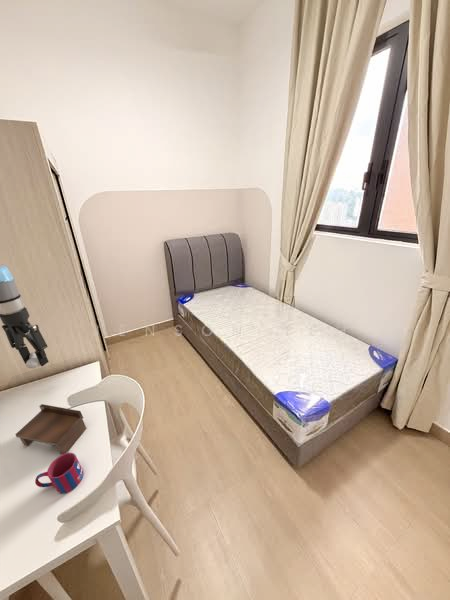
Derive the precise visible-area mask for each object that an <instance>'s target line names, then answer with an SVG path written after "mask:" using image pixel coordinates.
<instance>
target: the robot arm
mask: <svg viewBox="0 0 450 600" xmlns="http://www.w3.org/2000/svg"><path fill="white" fill-rule="evenodd" d="M29 318H30V314H29V311H28V309H27V307H26V304H25V303H24V300H23V298H22V295H21V293H20V291H19V289H18V286H17V283H16V281H15V278H14V276H13V275H12V273H11V271H10V270H9V268H8V266H7V267H6V266H4V265H0V321H1V322H2V324H3V325H1V328H2V329H3V331H4V333H5V335H6V338H7V340H8V342H9V346H10V347H11V349H15V350H17V351H18V353H19V355H20V357H21V359H22V360H23V363H24V364H25V365H26V362H27V361H28V360H29V359H30V358H29V356H30V354H31V352H30V350H29V347H28V346H27V345H26V343H25V340H24V339H26V340H27V342H28V343H29V344H30V345H31V347H32V348H33V349H34V351H35V352H34V351H33V352H34V353H35V354H36V356H37V358H38V361H39V363H40V367H44V366H45V365H46V364H48V363H50V362H49V359H48V357H47V353H46V351H45V349H47V348H48V344H47V343H46V340H45V339H44V337H43V334H42V333H41V331H40V328H39V325H38V324H34V325H33V324H31V322H30V321H29Z"/></svg>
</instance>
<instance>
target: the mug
mask: <svg viewBox="0 0 450 600" xmlns="http://www.w3.org/2000/svg"><path fill="white" fill-rule="evenodd" d="M42 477H43V478H44V477H48V479H49V480H50V482H41V481H39V479H40V478H42ZM83 477H84V469H83V467H82V465H81V463H80V461H79V459H78V457H77V455H76V454H75V453H74V452H67V453H65V454H63V455H62V454H60V455H59V456H57V457H56V458H55V459H54V460H53V461H52V462H51V463H50V464H49V466H48V468H47V471H44V472H40V473H39V474H37V475H36V477H35V480H34V483H35V485H36V486H37V487H39V488H50V487H54V489H55V491H56V492H57V493H59V494H67V493H69V492H72V491H73V490H74V489H76V488H77V487H78V485H80V483H81V482H82V480H83Z"/></svg>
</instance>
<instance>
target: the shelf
mask: <svg viewBox="0 0 450 600" xmlns="http://www.w3.org/2000/svg"><path fill="white" fill-rule="evenodd" d="M38 407H39V409H40V411H39V412H38V413H37V414H36V415H35V416H34V417H32V418H31V419H30V420H29V422H27V423H26V424H25V425H24V426H22V427H21V429H20V430H18V431H17V432H16V433H14V435H15V436H16V438H19V440H20V441H21V443H22V445H23V447H29V446H30V445H31V444H32V443H34V442H37V443H42V444H46V445H51V446H55V447H56V448H57V450H58V452H59V454H60V455H63V454H65V453H69V451H70V449H72V447H73V446H74V445H75V443H76V442H77V441H78V440H79V438H81V436H82V435H83V434H84V432H85V431H86V430H87V429H88V428H87V427H86V423H85V421H84V420H83V419H84V416H83V414H82V412H81V410H78V409H71V408H67V407H61V406H55V405H49V404H43V403H41V404H40V405H39V406H38Z"/></svg>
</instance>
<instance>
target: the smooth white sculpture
mask: <svg viewBox="0 0 450 600" xmlns="http://www.w3.org/2000/svg"><path fill="white" fill-rule="evenodd" d="M35 351H36V350H34V351H31V352H30V356H29V358H30V359H29V360H28V361H27V362H26V364H25V366H26V367H27V369H36V368H39V367H41V365H40V363H39V361H38V358H37V356H36V354H35V353H34V352H35Z"/></svg>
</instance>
